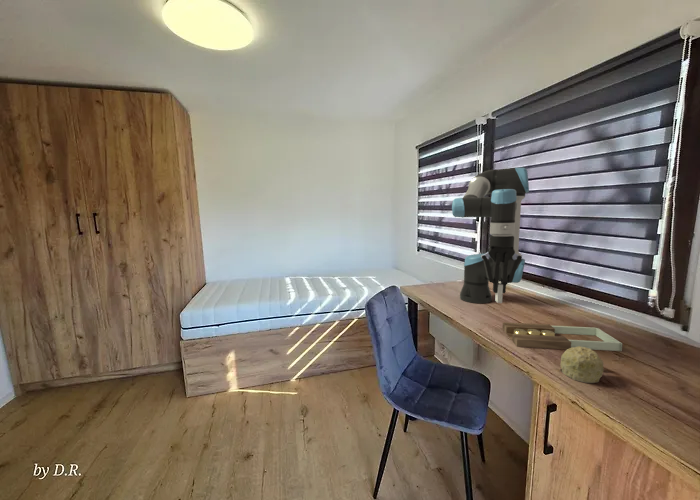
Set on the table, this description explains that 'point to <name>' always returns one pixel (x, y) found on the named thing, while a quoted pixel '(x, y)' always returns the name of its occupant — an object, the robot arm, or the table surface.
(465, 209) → the robot arm
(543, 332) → the chip
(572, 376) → the decorative object
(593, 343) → the tray
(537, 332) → the chip
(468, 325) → the table surface
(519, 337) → the slot board
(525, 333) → the chip
